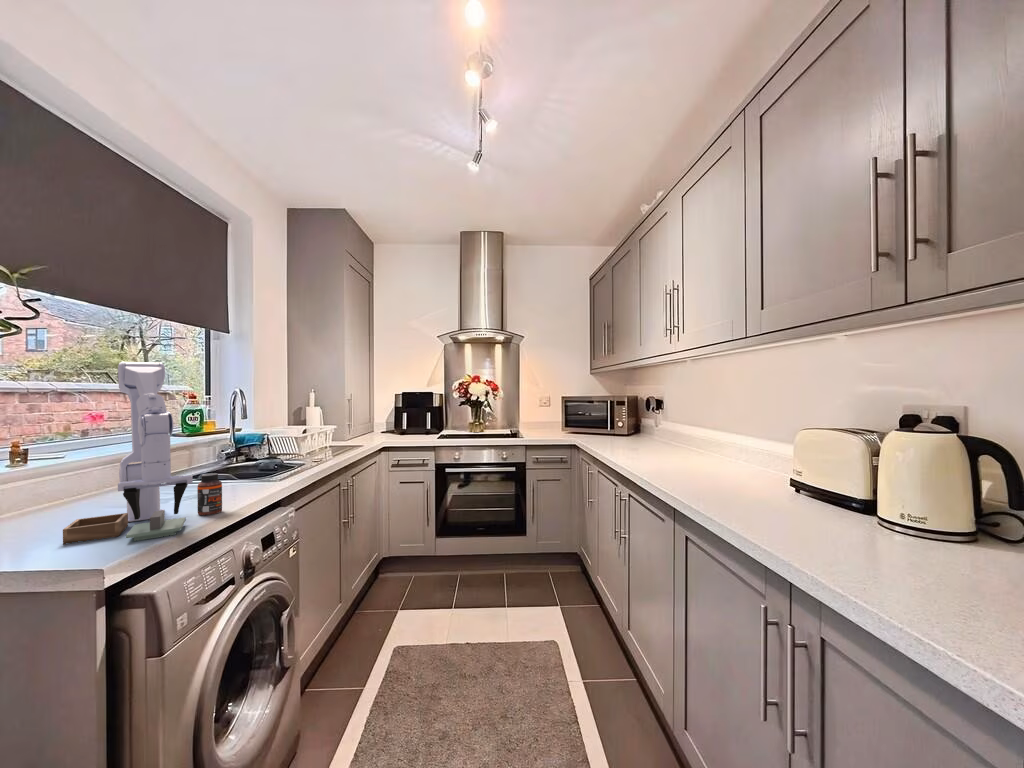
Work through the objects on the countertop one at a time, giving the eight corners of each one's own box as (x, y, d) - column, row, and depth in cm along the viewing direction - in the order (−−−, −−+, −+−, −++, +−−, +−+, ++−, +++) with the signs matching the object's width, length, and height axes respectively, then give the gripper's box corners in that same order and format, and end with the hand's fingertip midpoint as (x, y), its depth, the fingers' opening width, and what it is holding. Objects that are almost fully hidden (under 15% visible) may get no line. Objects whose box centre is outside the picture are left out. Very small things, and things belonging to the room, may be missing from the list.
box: (77, 533, 114) (76, 519, 114) (128, 526, 119) (127, 512, 119) (62, 544, 105) (62, 529, 105) (118, 536, 110) (118, 522, 110)
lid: (135, 531, 113) (134, 512, 113) (185, 524, 119) (185, 506, 119) (125, 543, 105) (125, 522, 105) (180, 535, 110) (180, 515, 110)
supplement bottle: (209, 516, 126) (209, 476, 126) (192, 515, 127) (191, 476, 127) (227, 510, 132) (226, 472, 132) (210, 510, 133) (209, 472, 133)
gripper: (114, 466, 105) (114, 525, 104) (190, 460, 112) (190, 514, 112) (121, 462, 111) (122, 517, 110) (193, 457, 118) (193, 508, 118)
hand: (157, 515), depth 112 cm, fingers open, 7 cm apart
